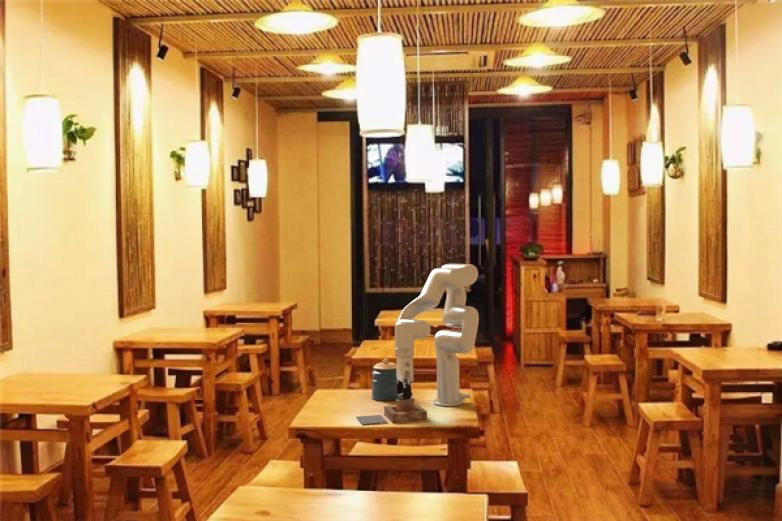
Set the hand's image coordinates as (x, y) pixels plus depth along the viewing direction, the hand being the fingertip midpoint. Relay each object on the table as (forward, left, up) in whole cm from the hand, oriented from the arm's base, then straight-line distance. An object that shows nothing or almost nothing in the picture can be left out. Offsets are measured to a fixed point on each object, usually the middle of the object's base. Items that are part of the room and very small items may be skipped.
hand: (404, 395), depth 331 cm
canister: (-2, -37, -9) cm, 39 cm away
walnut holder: (-1, 0, -9) cm, 9 cm away
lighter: (-1, 0, -9) cm, 9 cm away
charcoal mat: (+13, +1, -9) cm, 16 cm away
